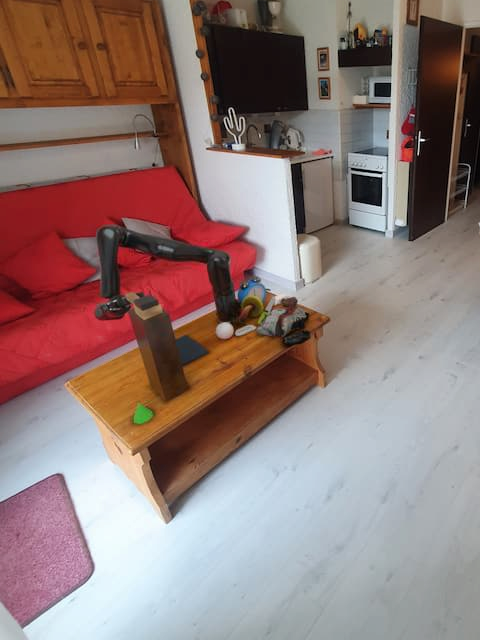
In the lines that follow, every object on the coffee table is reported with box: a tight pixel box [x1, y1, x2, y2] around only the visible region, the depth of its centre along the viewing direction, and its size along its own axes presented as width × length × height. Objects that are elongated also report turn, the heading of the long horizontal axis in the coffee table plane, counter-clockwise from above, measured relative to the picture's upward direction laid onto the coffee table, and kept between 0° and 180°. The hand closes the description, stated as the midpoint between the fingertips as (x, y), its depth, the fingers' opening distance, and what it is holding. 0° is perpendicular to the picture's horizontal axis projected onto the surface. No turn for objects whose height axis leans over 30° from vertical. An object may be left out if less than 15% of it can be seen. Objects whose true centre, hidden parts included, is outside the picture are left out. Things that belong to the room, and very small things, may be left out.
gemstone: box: [133, 403, 154, 425], centre depth 124 cm, size 6×6×6 cm
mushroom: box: [230, 295, 265, 326], centre depth 175 cm, size 12×12×15 cm
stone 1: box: [255, 308, 287, 338], centre depth 174 cm, size 22×3×10 cm
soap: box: [234, 324, 258, 337], centre depth 170 cm, size 10×4×1 cm, turn 135°
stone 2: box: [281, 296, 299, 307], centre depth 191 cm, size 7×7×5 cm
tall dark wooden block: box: [127, 307, 189, 403], centre depth 130 cm, size 8×12×32 cm, turn 50°
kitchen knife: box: [256, 295, 275, 326], centre depth 184 cm, size 22×1×3 cm
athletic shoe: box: [275, 305, 310, 338], centre depth 168 cm, size 12×25×12 cm
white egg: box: [215, 322, 235, 340], centre depth 164 cm, size 10×7×7 cm
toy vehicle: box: [272, 292, 292, 307], centre depth 195 cm, size 12×2×4 cm
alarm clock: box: [237, 275, 267, 305], centre depth 187 cm, size 13×6×15 cm, turn 143°
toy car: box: [282, 329, 312, 348], centre depth 162 cm, size 6×12×4 cm, turn 100°
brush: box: [124, 291, 163, 320], centre depth 125 cm, size 6×18×5 cm, turn 50°
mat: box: [175, 334, 209, 367], centre depth 157 cm, size 12×18×1 cm, turn 50°
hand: (126, 299), depth 135 cm, fingers open, 8 cm apart
